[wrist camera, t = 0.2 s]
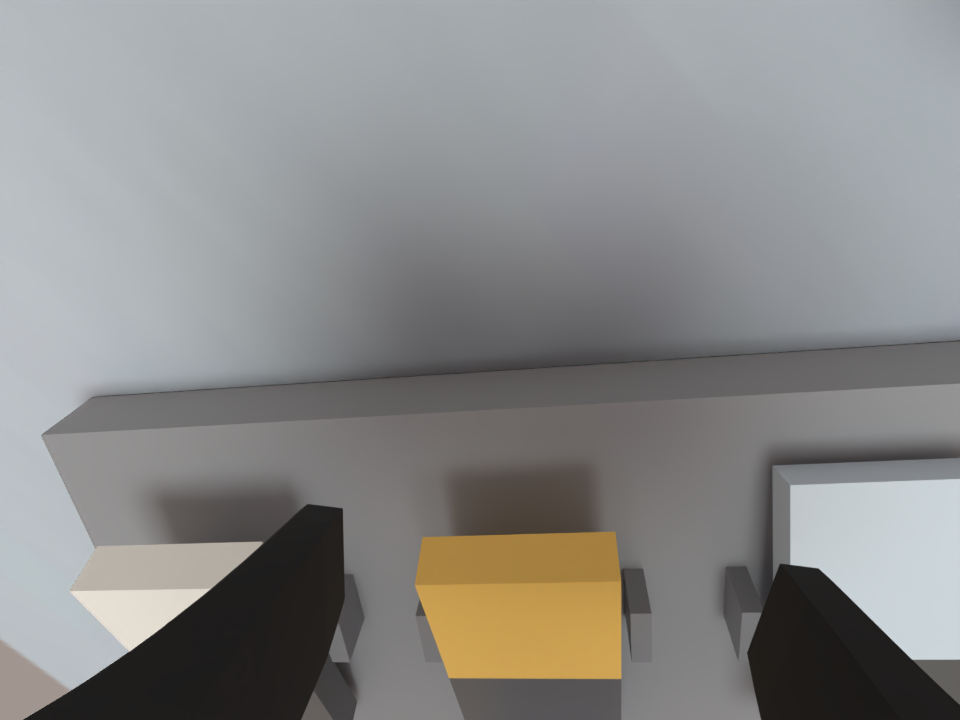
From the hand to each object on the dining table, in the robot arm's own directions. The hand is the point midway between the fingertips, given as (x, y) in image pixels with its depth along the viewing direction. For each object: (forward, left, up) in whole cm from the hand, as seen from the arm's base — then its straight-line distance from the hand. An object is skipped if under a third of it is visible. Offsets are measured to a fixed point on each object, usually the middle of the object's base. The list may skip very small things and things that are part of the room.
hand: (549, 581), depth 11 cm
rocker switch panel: (-8, -1, -10) cm, 13 cm away
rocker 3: (-8, -8, -6) cm, 13 cm away
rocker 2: (-8, +1, -6) cm, 10 cm away
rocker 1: (-8, +11, -6) cm, 14 cm away
